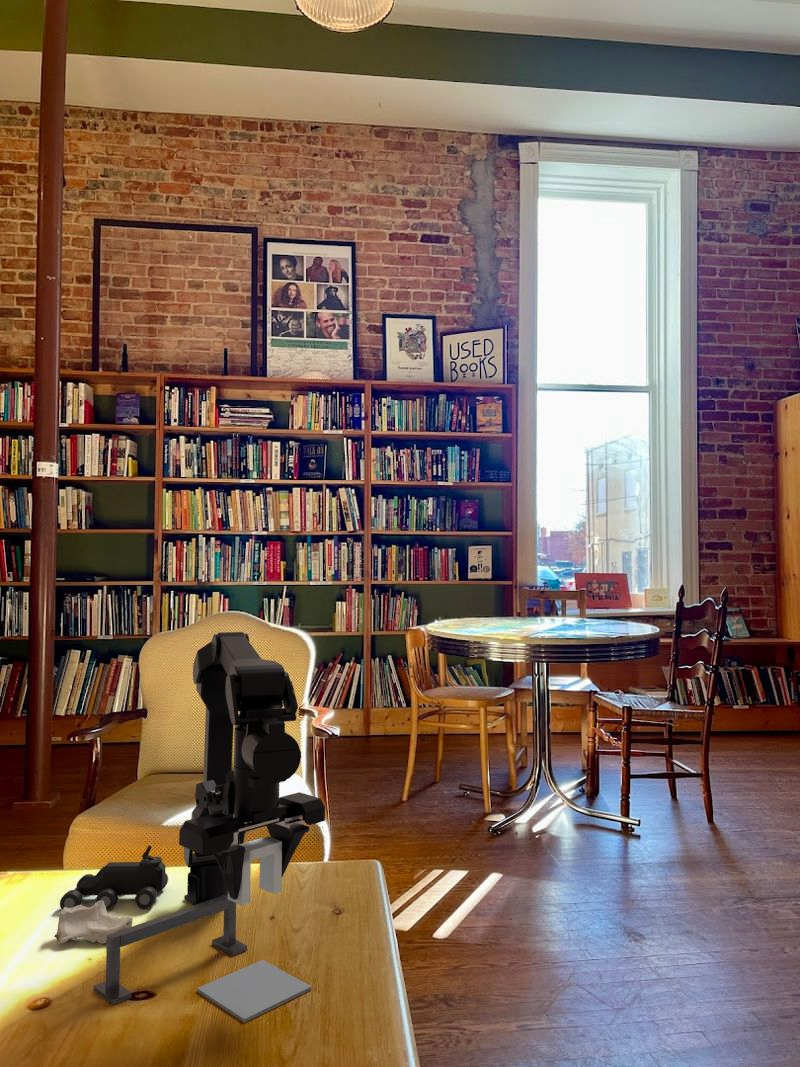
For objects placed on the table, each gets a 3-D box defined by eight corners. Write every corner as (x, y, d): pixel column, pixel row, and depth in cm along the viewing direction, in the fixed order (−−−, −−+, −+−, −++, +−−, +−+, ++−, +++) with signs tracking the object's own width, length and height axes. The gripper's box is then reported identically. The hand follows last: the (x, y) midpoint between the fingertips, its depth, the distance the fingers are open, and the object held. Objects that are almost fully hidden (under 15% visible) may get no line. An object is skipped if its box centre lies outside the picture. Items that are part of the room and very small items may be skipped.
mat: (262, 962, 102) (262, 959, 102) (311, 989, 95) (311, 986, 95) (196, 991, 95) (196, 988, 95) (244, 1022, 88) (244, 1019, 88)
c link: (281, 891, 97) (282, 841, 98) (241, 905, 93) (242, 853, 93) (267, 885, 99) (267, 836, 100) (227, 898, 95) (228, 847, 95)
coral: (130, 945, 108) (131, 912, 108) (50, 953, 105) (51, 919, 106) (134, 927, 113) (135, 896, 114) (58, 934, 111) (59, 903, 111)
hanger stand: (226, 938, 109) (227, 888, 110) (247, 950, 106) (247, 897, 106) (93, 990, 95) (95, 932, 96) (112, 1005, 92) (114, 945, 92)
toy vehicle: (155, 912, 119) (157, 853, 120) (57, 913, 119) (58, 855, 119) (170, 891, 127) (171, 836, 128) (77, 892, 127) (79, 837, 127)
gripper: (276, 744, 109) (275, 856, 108) (156, 766, 96) (154, 895, 95) (328, 756, 102) (327, 877, 101) (206, 782, 88) (203, 922, 87)
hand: (255, 891), depth 96 cm, fingers closed on c link, 6 cm apart
